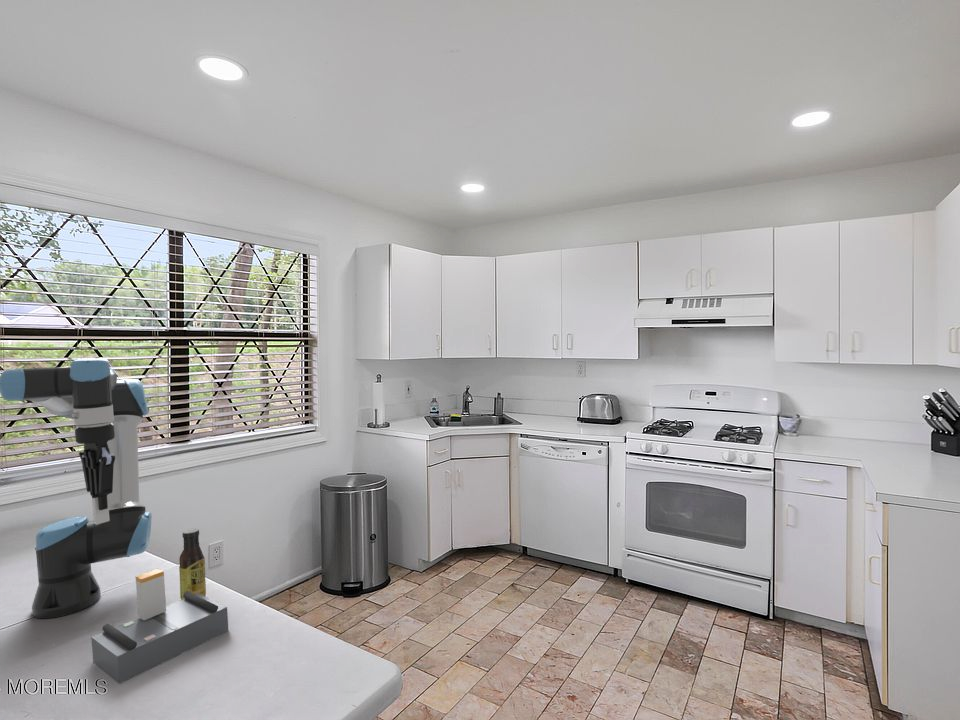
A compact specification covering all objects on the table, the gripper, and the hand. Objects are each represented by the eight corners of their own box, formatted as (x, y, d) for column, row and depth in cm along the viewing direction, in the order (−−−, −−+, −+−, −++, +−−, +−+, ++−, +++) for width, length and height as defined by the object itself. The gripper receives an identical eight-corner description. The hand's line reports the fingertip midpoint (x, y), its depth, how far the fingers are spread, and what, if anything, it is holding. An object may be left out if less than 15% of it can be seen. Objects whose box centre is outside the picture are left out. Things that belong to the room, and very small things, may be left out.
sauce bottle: (195, 608, 144) (190, 536, 143) (175, 606, 145) (170, 535, 144) (212, 596, 150) (207, 527, 149) (193, 595, 151) (188, 526, 150)
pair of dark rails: (102, 632, 122) (102, 625, 122) (189, 596, 138) (189, 590, 138) (128, 651, 114) (128, 643, 114) (218, 610, 130) (218, 604, 129)
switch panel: (93, 662, 120) (91, 636, 120) (199, 615, 140) (198, 592, 139) (119, 684, 112) (117, 655, 112) (228, 630, 132) (227, 606, 131)
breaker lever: (138, 617, 127) (135, 576, 127) (160, 608, 131) (157, 568, 131) (143, 620, 126) (141, 579, 125) (166, 611, 130) (163, 571, 129)
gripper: (63, 424, 125) (71, 522, 127) (88, 429, 118) (96, 532, 120) (100, 419, 132) (106, 512, 133) (125, 423, 125) (132, 521, 126)
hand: (101, 522), depth 126 cm, fingers closed
